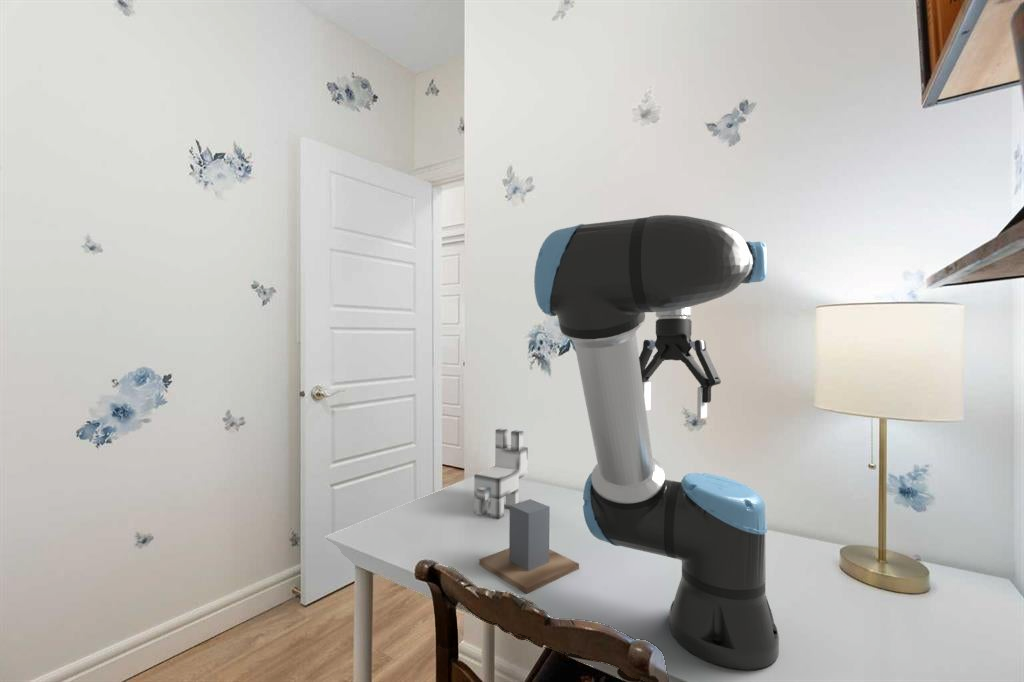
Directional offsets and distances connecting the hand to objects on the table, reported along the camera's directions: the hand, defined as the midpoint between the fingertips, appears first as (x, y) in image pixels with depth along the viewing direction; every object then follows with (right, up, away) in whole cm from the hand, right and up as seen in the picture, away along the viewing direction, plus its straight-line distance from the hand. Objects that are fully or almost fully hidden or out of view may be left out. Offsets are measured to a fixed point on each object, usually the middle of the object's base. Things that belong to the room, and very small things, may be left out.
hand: (672, 414), depth 102 cm
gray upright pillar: (-32, -28, -11) cm, 44 cm away
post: (-32, -29, -11) cm, 45 cm away
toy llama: (-39, -29, +20) cm, 53 cm away
